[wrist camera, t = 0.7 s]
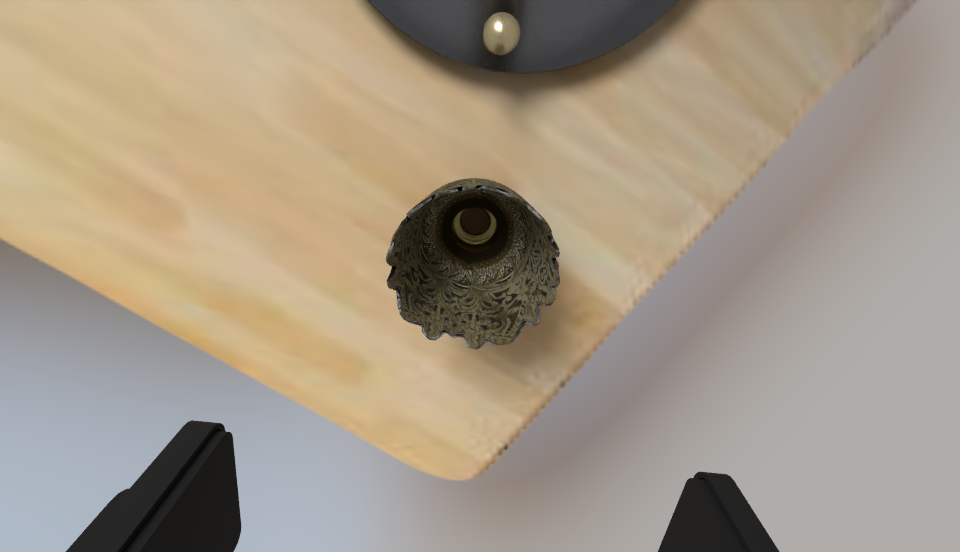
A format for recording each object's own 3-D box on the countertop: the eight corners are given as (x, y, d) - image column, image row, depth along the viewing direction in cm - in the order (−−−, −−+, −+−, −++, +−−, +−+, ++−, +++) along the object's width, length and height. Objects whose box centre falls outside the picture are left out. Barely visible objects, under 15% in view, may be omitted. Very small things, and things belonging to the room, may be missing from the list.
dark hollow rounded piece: (558, 178, 26) (589, 219, 18) (515, 292, 29) (528, 367, 21) (429, 138, 25) (407, 164, 18) (398, 260, 28) (369, 326, 20)
